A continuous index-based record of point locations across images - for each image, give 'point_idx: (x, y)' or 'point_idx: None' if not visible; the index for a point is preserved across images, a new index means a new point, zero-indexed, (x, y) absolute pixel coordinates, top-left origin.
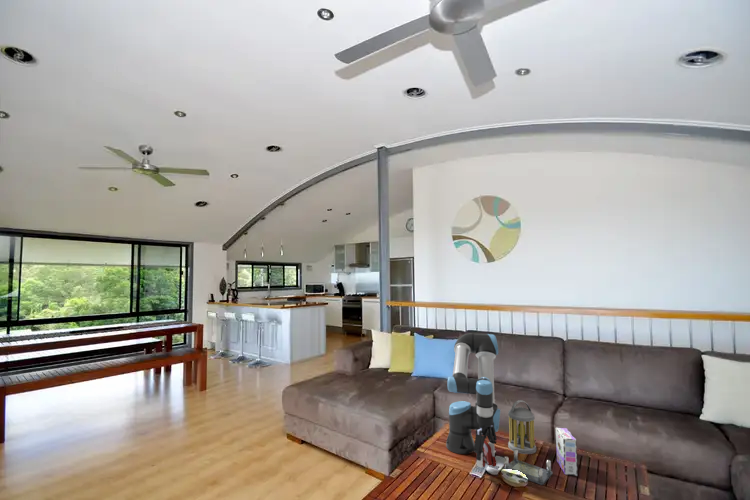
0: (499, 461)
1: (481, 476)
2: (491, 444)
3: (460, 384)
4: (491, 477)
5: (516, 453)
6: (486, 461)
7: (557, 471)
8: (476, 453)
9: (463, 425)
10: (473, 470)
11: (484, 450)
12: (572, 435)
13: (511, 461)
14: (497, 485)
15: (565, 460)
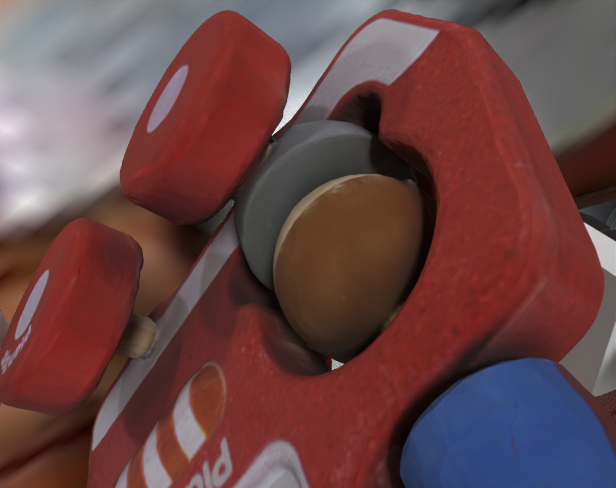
0: (542, 96)
1: (34, 218)
2: (587, 345)
3: None
4: (146, 291)
5: None
6: (143, 359)
7: (608, 410)
8: (211, 40)
9: None
10: (45, 22)
11: (217, 432)
12: None
13: (579, 210)
14: (70, 421)
15: None
